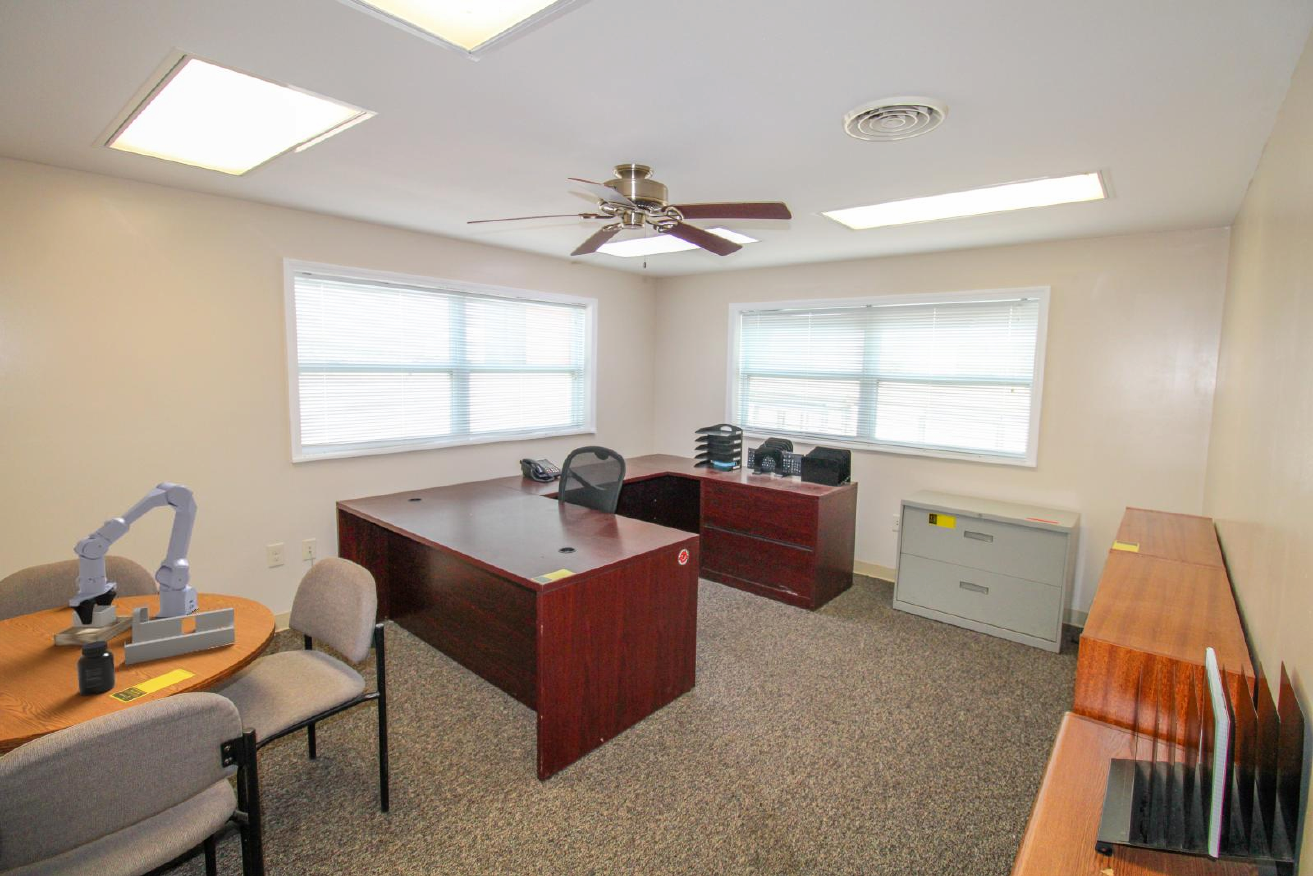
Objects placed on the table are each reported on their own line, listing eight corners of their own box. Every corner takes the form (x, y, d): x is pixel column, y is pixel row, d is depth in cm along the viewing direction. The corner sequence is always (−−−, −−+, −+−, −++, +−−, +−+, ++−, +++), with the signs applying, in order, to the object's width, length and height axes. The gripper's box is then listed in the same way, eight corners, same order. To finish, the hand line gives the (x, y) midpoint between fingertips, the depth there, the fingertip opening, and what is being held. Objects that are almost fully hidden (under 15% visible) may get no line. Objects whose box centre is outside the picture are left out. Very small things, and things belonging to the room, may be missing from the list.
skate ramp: (125, 666, 166) (123, 631, 165) (135, 635, 184) (133, 604, 183) (235, 645, 180) (233, 613, 179) (234, 618, 199) (233, 589, 198)
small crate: (116, 621, 185) (115, 605, 184) (101, 628, 180) (100, 612, 179) (88, 620, 184) (87, 605, 184) (73, 628, 179) (72, 612, 178)
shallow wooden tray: (135, 625, 190) (134, 615, 190) (98, 645, 176) (97, 635, 176) (94, 625, 189) (93, 615, 188) (54, 645, 175) (53, 635, 174)
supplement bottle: (122, 682, 157) (120, 639, 155) (99, 696, 150) (96, 651, 149) (95, 682, 156) (93, 638, 155) (71, 696, 150) (68, 650, 148)
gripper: (98, 569, 187) (100, 610, 189) (56, 585, 173) (59, 630, 174) (122, 569, 188) (124, 610, 189) (83, 585, 174) (85, 630, 175)
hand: (95, 620), depth 182 cm, fingers closed on small crate, 5 cm apart
